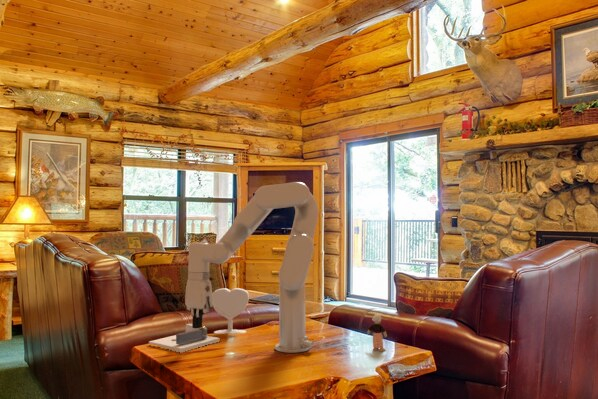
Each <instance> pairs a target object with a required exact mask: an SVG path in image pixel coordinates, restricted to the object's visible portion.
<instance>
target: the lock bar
mask: <svg viewBox="0 0 598 399" xmlns="http://www.w3.org/2000/svg"><path fill="white" fill-rule="evenodd" d="M175 335H176V344H178V345H181V344H185V343H188V342H192V341H196V340H200V339H205V338H207V336H208V328H207V327H206V326H203V325H202V327H201V328H199V329H196V330H192V331H188V332H186V331H184V332H179V333H176V334H175Z"/></svg>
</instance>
